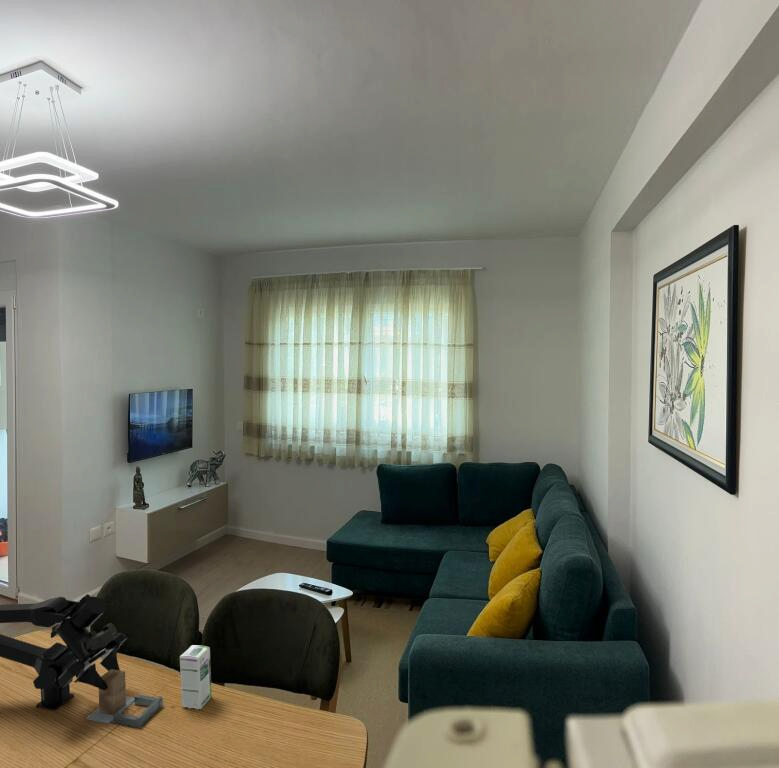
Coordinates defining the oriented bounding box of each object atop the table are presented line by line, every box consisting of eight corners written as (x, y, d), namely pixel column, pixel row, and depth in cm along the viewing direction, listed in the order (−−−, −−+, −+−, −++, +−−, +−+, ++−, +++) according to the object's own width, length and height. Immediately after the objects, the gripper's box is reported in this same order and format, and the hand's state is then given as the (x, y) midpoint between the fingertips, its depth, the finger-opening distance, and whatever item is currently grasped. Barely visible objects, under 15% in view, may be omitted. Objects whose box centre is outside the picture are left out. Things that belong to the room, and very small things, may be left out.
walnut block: (99, 711, 142) (98, 678, 141) (112, 701, 146) (111, 669, 146) (113, 714, 141) (112, 681, 140) (126, 703, 145) (125, 671, 145)
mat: (86, 719, 140) (86, 718, 140) (114, 695, 149) (114, 694, 149) (108, 723, 138) (108, 722, 138) (136, 699, 148) (135, 698, 148)
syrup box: (200, 710, 143) (199, 657, 142) (180, 707, 144) (179, 655, 143) (212, 696, 148) (210, 646, 148) (192, 694, 150) (191, 643, 149)
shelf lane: (113, 723, 138) (113, 713, 138) (137, 701, 147) (137, 692, 147) (139, 728, 136) (139, 718, 136) (162, 705, 145) (162, 696, 145)
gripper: (65, 637, 134) (104, 687, 132) (120, 604, 152) (154, 647, 150) (41, 663, 137) (78, 712, 135) (98, 627, 155) (131, 670, 153)
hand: (113, 683), depth 143 cm, fingers open, 5 cm apart
